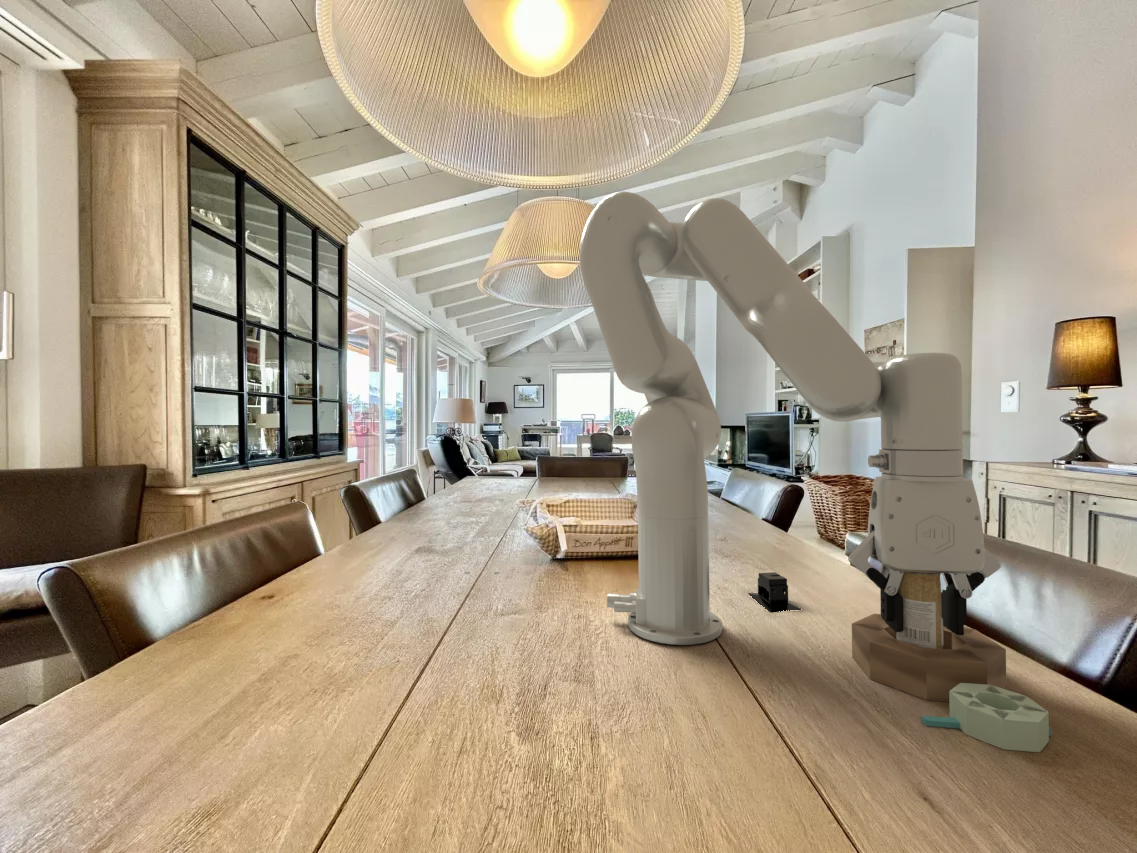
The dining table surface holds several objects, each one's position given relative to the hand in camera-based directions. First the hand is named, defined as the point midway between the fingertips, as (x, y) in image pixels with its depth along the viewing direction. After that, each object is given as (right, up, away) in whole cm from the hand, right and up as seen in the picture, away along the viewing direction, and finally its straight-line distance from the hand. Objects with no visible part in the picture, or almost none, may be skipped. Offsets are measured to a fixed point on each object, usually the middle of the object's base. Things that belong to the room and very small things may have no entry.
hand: (922, 627), depth 58 cm
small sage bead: (-1, -5, -11) cm, 12 cm away
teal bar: (-2, -5, -11) cm, 12 cm away
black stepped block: (-7, -6, +24) cm, 26 cm away
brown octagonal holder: (0, -5, 0) cm, 5 cm away
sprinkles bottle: (0, -5, 0) cm, 5 cm away
